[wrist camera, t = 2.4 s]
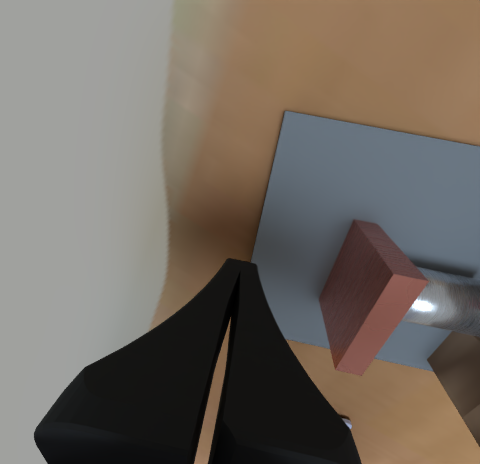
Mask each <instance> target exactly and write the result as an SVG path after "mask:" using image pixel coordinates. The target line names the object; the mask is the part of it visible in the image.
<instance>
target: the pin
mask: <svg viewBox="0 0 480 464" xmlns="http://www.w3.org/2000/svg"><path fill="white" fill-rule="evenodd" d="M319 303H320V307H321V311H322V316H323V320H324V324H325V328H326V333H327V337H328V341H329V345H330V350H331V354H332V358H333V363H334V367H335V370H338V371H343V372H347V373H352V374H356V375H361V376H362V374H363V373H364V372H365V370H366V369H367V367H368V366H369V365H370V363H371V362H372V360H373V359H374V358H375V356H376V355H377V353H378V352H379V351H380V349H381V348H382V346H383V345H384V344H385V342H386V341H387V339H388V338H389V337H390V335H391V334H392V333H393V331H394V330H395V328H396V327H397V326H398V324H399V323H400V321H401V320H402V321H406V322H411V323H416V324H420V325H425V326H430V327H435V328H439V329H444V330H449V331H453V332H458V333H463V334H467V335H472V336H477V337H480V280H479V279H475V278H470V277H465V276H460V275H455V274H450V273H445V272H440V271H435V270H431V269H426V268H421V267H416V266H415V265H414V264H413V263H412V262H411V261H410V259H409V258H408V257H407V256H406V255H405V254H404V253H403V252H402V251H401V249H400V248H399V247H398V246H397V245H396V244H395V243H394V242H393V241H392V239H391V238H390V237H389V236H388V235H387V234H386V233H385V232H384V230H383V229H382V228H381V227H380V226H379V225H378V224H376V223H371V222H366V221H361V220H356V219H354V220H353V222H352V225H351V227H350V229H349V231H348V234H347V236H346V238H345V240H344V243H343V245H342V247H341V249H340V252H339V254H338V256H337V259H336V261H335V263H334V265H333V268H332V270H331V272H330V274H329V277H328V279H327V281H326V283H325V286H324V288H323V290H322V293H321V295H320V297H319Z"/></svg>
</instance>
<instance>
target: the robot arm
mask: <svg viewBox="0 0 480 464" xmlns="http://www.w3.org/2000/svg"><path fill="white" fill-rule="evenodd" d="M230 318H231V323H230V332H229V342H228V352H227V362H226V369H225V376H224V381H223V387H222V392H221V397H220V403H219V408H218V413H217V419H216V424H215V429H214V434H213V440H212V445H211V450H210V456H209V461H208V464H362V463H361V460H360V457H359V454H358V451H357V448H356V445H355V442H354V439H353V436H352V434H351V431H350V429H351V427H352V425H351V421H349V420H348V419H344V418H341V417H340V416H339V415H338V413H337V412H336V411H335V410H334V409H333V407H332V406H331V405H330V404H329V403H328V401H327V400H326V399H325V398H324V396H323V395H322V394H321V392H320V391H319V390H318V388H317V387H316V385H315V384H314V383H313V381H312V380H311V379H310V377H309V376H308V374H307V373H306V371H305V370H304V368H303V367H302V365H301V364H300V362H299V361H298V359H297V358H296V356H295V355H294V353H293V352H292V350H291V348H290V347H289V345H288V343H287V341H286V340H285V338H284V336H283V334H282V332H281V330H280V329H279V327H278V325H277V323H276V320H275V318H274V316H273V314H272V311H271V309H270V307H269V304H268V302H267V299H266V296H265V294H264V291H263V288H262V284H261V281H260V277H259V273H258V266H257V265H256V264H255V263H250V262H245V261H240V260H236V259H231V258H228V259H227V260H226V261H225V263H224V264H223V266H222V267H221V269H220V270H219V271H218V272H217V274H216V275H215V276H214V277H213V278H212V279H211V281H210V282H209V283H208V284H207V285H206V286H205V287H204V288H203V289H202V290H201V291H200V292H199V293H198V294H197V295H196V296H195V297H194V298H193V299H192V300H191V301H189V302H188V303H187V304H186V305H185V306H184V307H182V308H181V309H180V310H179V311H177V312H176V313H175V314H174V315H172V316H171V317H169V318H168V319H167V320H165V321H164V322H163V323H161V324H160V325H158V326H157V327H155V328H154V329H152V330H151V331H149V332H148V333H146V334H144V335H143V336H141V337H140V338H138V339H136V340H135V341H133V342H131V343H130V344H128V345H126V346H125V347H123V348H121V349H119V350H117V351H115V352H113V353H111V354H110V355H108V356H106V357H104V358H102V359H100V360H98V361H96V362H94V363H92V364H90V365H88V366H86V367H85V368H84V369H83V370H82V371H81V372H80V373H79V374H78V375H77V376H76V378H75V379H74V380H73V381H72V382H71V383H70V385H69V386H68V387H67V388H66V389H65V390H64V391H63V393H62V394H61V395H60V397H59V398H58V399H57V401H56V402H55V403H54V405H53V406H52V407H51V409H50V410H49V411H48V413H47V414H46V415H45V417H44V418H43V419H42V421H41V422H40V423H39V425H38V426H37V427H36V430H35V432H34V440H35V442H36V445H37V447H38V448H39V450H40V452H41V453H42V455H43V457H44V458H45V460H46V462H47V463H48V464H194V461H195V456H196V452H197V447H198V443H199V438H200V434H201V429H202V424H203V420H204V415H205V411H206V406H207V402H208V397H209V393H210V388H211V384H212V379H213V374H214V370H215V367H216V363H217V360H218V356H219V353H220V350H221V347H222V343H223V340H224V337H225V334H226V331H227V327H228V324H229V321H230Z"/></svg>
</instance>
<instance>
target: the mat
mask: <svg viewBox="0 0 480 464" xmlns="http://www.w3.org/2000/svg"><path fill="white" fill-rule="evenodd" d="M354 219H356V220H361V221H366V222H371V223H376V224H378V225H379V226H380V227H381V228H382V229H383V230H384V232H385V233H386V234H387V235H388V236H389V237H390V238H391V239H392V241H393V242H394V243H395V244H396V245H397V246H398V247H399V248H400V249H401V251H402V252H403V253H404V254H405V255H406V256H407V257H408V258H409V259H410V261H411V262H412V263H413V264H414V265H415V266H416V267H421V268H426V269H431V270H435V271H440V272H445V273H450V274H455V275H460V276H465V277H470V278H475V279H479V280H480V147H479V146H474V145H468V144H463V143H457V142H452V141H446V140H441V139H436V138H430V137H425V136H419V135H414V134H409V133H403V132H398V131H392V130H387V129H381V128H376V127H371V126H365V125H360V124H354V123H349V122H344V121H338V120H333V119H327V118H322V117H316V116H311V115H306V114H300V113H295V112H289V111H285V113H284V117H283V122H282V126H281V130H280V135H279V139H278V144H277V148H276V153H275V157H274V161H273V166H272V170H271V175H270V179H269V183H268V188H267V192H266V197H265V201H264V206H263V210H262V214H261V219H260V223H259V228H258V232H257V237H256V241H255V245H254V250H253V254H252V259H251V263H255V264H256V265H257V266H258V273H259V277H260V281H261V284H262V288H263V291H264V294H265V296H266V299H267V302H268V304H269V307H270V309H271V311H272V314H273V316H274V318H275V320H276V323H277V325H278V327H279V329H280V330H281V332H282V334H283V336H284V338H285V339H288V340H292V341H297V342H302V343H306V344H311V345H315V346H320V347H324V348H329V349H330V345H329V341H328V337H327V333H326V328H325V324H324V320H323V316H322V311H321V307H320V303H319V297H320V295H321V293H322V290H323V288H324V286H325V283H326V281H327V279H328V277H329V274H330V272H331V270H332V268H333V265H334V263H335V261H336V259H337V256H338V254H339V252H340V249H341V247H342V245H343V243H344V240H345V238H346V236H347V234H348V231H349V229H350V227H351V225H352V222H353V220H354ZM451 332H452V331H449V330H444V329H439V328H435V327H430V326H425V325H420V324H416V323H411V322H406V321H402V320H401V321H400V323H399V324H398V326H397V327H396V328H395V330H394V331H393V333H392V334H391V335H390V337H389V338H388V339H387V341H386V342H385V344H384V345H383V346H382V348H381V349H380V351H379V352H378V353H377V355H376V356H375V358H374V359H379V360H383V361H388V362H392V363H397V364H401V365H406V366H411V367H415V368H420V369H424V370H429V371H433V369H432V368H431V366H430V364H429V363H428V361H427V359H428V358H429V357H430V355H431V354H432V353H433V352H434V351H435V350H436V349H437V348H438V347H439V345H440V344H441V343H442V342H443V341H444V340H445V339H446V338H447V337H448V335H449V334H450V333H451ZM433 372H434V371H433Z"/></svg>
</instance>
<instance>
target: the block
mask: <svg viewBox="0 0 480 464" xmlns="http://www.w3.org/2000/svg"><path fill="white" fill-rule="evenodd" d="M427 361H428V363H429V364H430V366H431V368H432V369H433V371H434V373H435V374H436V376H437V377H438V379H439V381H440V382H441V384H442V386H443V387H444V389H445V391H446V392H447V394H448V396H449V397H450V399H451V400H452V402H453V404H454V405H455V407H456V409H457V410H458V412H459V414H460V415H461V417H462V419H463V420H464V422H465V424H466V425H467V427H468V428H469V430H470V432H471V433H472V435H473V437H474V438H475V440H476V442H477V443H478V445H479V447H480V337H477V336H472V335H467V334H463V333H458V332H453V331H452V332H451V333H450V334H449V335H448V337H447V338H446V339H445V340H444V341H443V342H442V343H441V344H440V345H439V347H438V348H437V349H436V350H435V351H434V352H433V353H432V354H431V355H430V357H429V358H428V359H427Z"/></svg>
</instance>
